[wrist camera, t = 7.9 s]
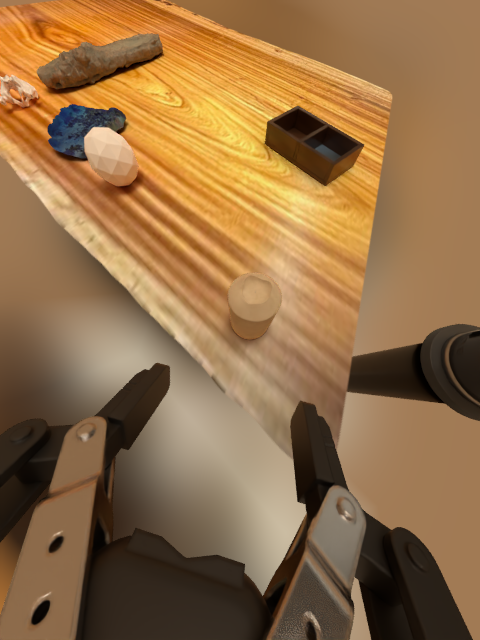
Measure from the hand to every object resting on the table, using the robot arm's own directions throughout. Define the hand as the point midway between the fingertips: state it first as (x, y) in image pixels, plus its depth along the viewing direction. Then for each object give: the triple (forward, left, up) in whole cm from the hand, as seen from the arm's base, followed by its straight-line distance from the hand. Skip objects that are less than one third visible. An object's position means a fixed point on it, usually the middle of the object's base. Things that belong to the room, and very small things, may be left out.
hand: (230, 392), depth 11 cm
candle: (+5, -7, -13) cm, 16 cm away
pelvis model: (+83, -3, -13) cm, 84 cm away
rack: (+25, -42, -13) cm, 51 cm away
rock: (+62, -9, -13) cm, 64 cm away
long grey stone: (+85, -27, -13) cm, 90 cm away
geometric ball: (+43, -8, -13) cm, 46 cm away
